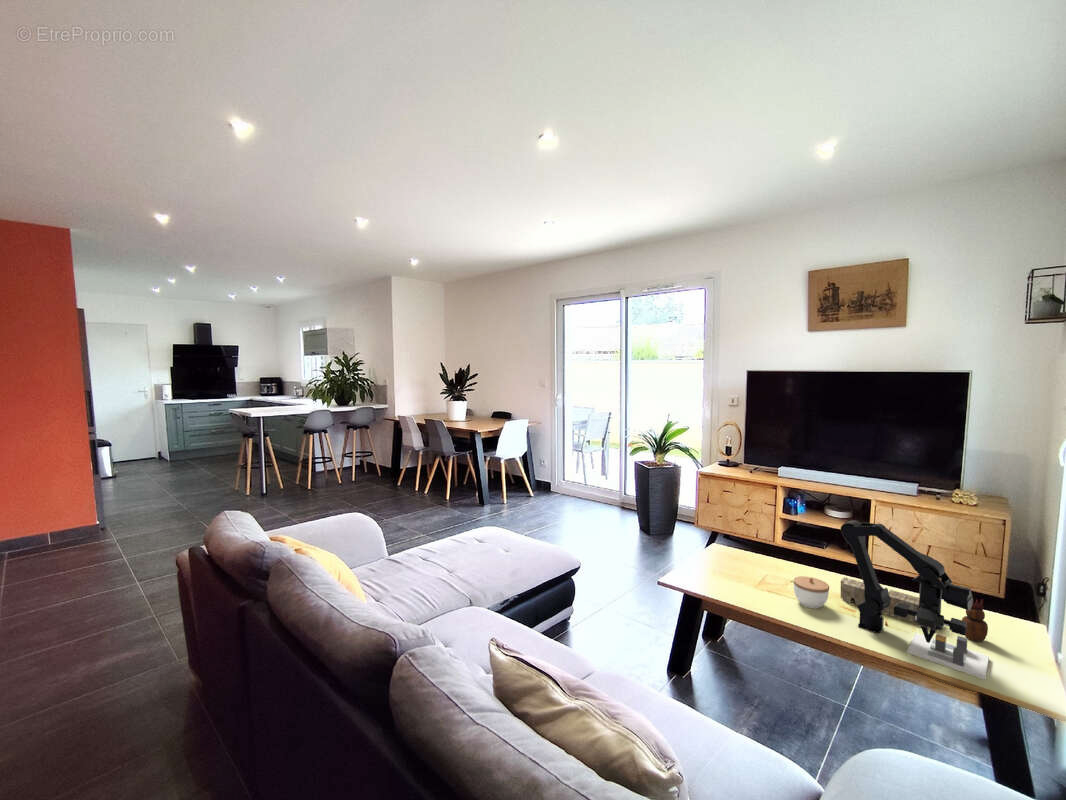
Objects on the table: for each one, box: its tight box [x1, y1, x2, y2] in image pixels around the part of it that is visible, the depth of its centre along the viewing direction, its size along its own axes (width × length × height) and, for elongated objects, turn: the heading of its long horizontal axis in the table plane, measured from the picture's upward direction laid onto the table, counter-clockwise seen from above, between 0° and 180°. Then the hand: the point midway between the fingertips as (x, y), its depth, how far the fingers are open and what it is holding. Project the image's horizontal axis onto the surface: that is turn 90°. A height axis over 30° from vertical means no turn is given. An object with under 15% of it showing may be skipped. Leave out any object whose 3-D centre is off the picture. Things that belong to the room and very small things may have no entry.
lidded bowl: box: [793, 575, 830, 610], centre depth 192 cm, size 13×13×11 cm
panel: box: [907, 632, 990, 680], centre depth 156 cm, size 19×15×5 cm
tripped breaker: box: [934, 633, 947, 653], centre depth 158 cm, size 2×3×4 cm
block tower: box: [840, 576, 919, 624], centre depth 188 cm, size 8×8×29 cm
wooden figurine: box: [961, 598, 989, 642], centre depth 166 cm, size 7×6×15 cm
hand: (928, 642), depth 160 cm, fingers closed
